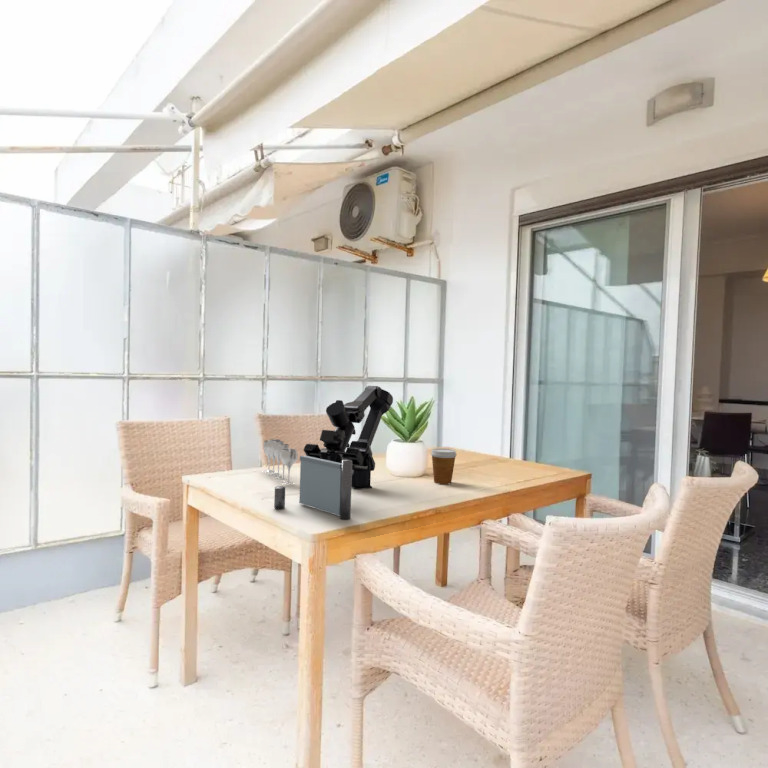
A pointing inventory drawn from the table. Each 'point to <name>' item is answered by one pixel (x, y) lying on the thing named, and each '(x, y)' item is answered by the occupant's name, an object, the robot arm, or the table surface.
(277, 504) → the posts
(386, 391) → the robot arm
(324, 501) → the panel
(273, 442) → the goblet set
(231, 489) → the table surface
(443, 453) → the disposable coffee cup
